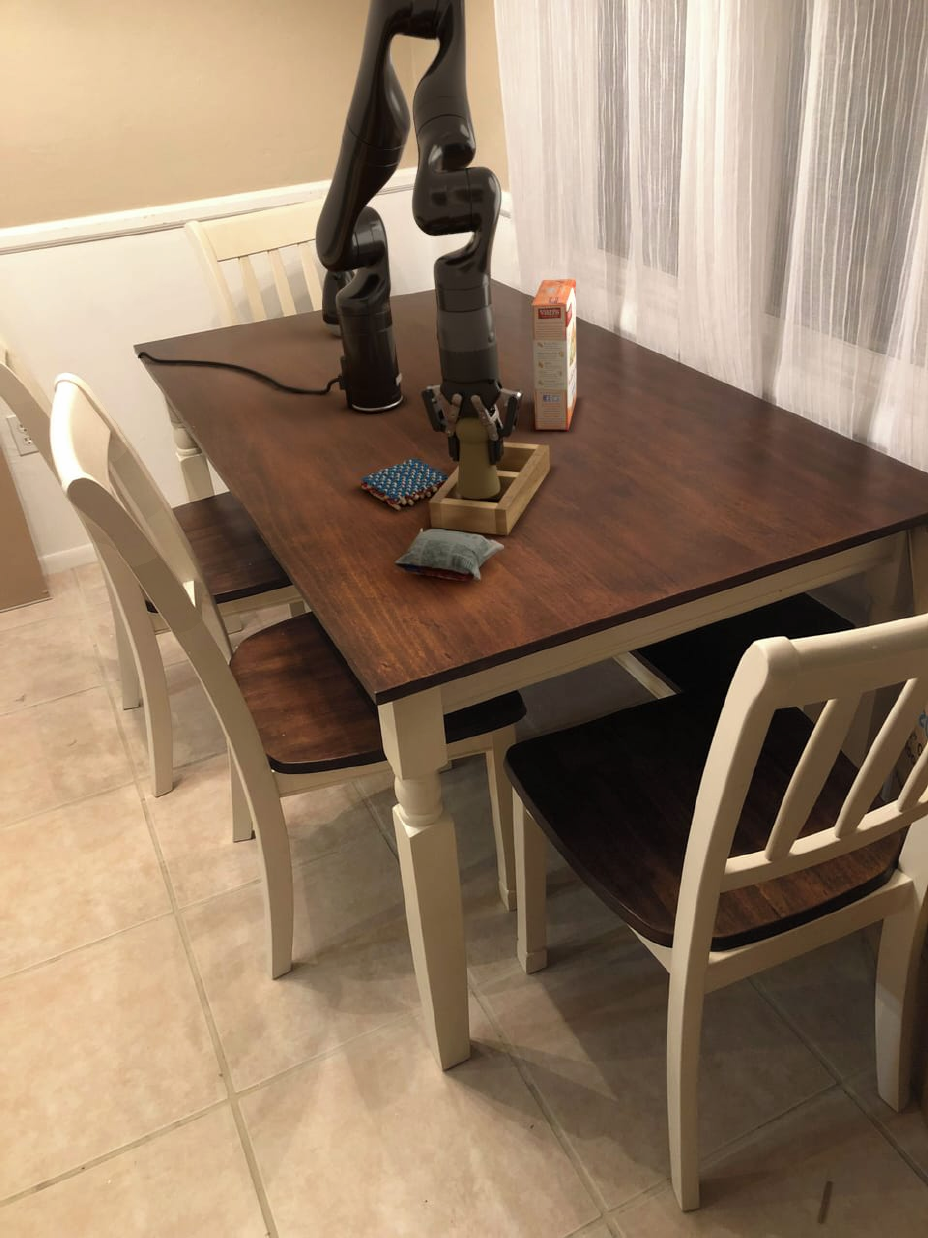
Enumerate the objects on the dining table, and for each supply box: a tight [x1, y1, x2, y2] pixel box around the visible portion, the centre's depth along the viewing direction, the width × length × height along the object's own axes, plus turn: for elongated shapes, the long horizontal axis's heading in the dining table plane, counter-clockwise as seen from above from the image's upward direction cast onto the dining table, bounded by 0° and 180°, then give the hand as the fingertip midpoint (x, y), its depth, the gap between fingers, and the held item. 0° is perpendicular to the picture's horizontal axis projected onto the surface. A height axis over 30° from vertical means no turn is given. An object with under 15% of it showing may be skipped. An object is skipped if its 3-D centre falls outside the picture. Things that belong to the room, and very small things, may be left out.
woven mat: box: [360, 457, 450, 511], centre depth 143 cm, size 10×11×2 cm
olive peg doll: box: [455, 415, 500, 500], centre depth 131 cm, size 6×6×11 cm
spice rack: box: [428, 441, 551, 536], centre depth 138 cm, size 11×21×4 cm, turn 159°
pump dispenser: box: [321, 269, 356, 338], centre depth 205 cm, size 10×10×15 cm
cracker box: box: [531, 278, 577, 431], centre depth 156 cm, size 14×6×21 cm, turn 168°
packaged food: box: [394, 528, 505, 582], centre depth 122 cm, size 9×12×5 cm
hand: (476, 460), depth 131 cm, fingers closed on olive peg doll, 5 cm apart
